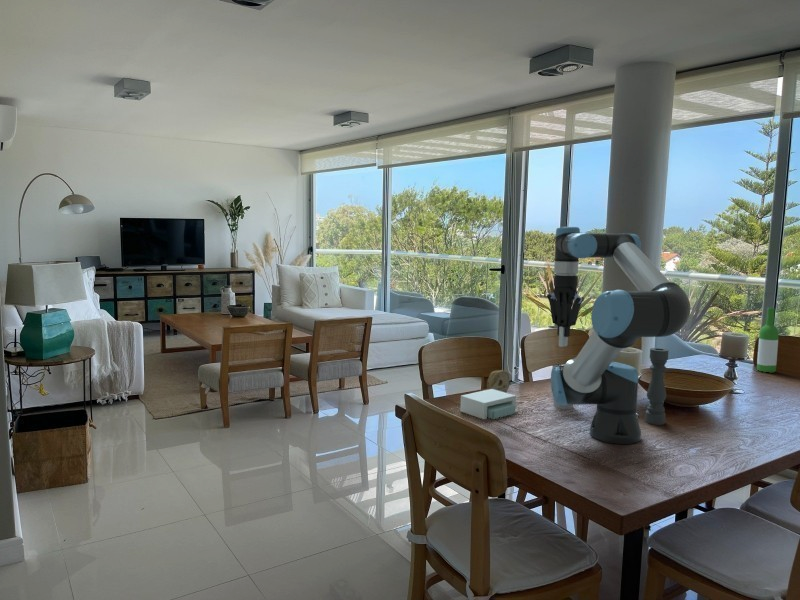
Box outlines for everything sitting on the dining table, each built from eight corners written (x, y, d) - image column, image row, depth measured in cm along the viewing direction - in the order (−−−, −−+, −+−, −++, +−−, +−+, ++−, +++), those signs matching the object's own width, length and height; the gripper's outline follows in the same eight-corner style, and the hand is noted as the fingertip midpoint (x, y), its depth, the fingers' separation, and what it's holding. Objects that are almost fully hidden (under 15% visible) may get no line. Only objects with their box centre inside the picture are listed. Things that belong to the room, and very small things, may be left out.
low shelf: (515, 411, 214) (515, 395, 213) (483, 419, 204) (484, 403, 203) (491, 403, 223) (491, 388, 222) (460, 411, 213) (460, 395, 212)
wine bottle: (778, 373, 277) (784, 309, 274) (760, 372, 278) (765, 308, 275) (771, 369, 284) (776, 307, 281) (753, 369, 286) (758, 306, 282)
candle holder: (642, 422, 203) (646, 349, 200) (649, 418, 207) (653, 347, 205) (660, 426, 199) (665, 352, 196) (667, 422, 203) (672, 349, 200)
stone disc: (503, 392, 239) (504, 367, 238) (510, 394, 236) (511, 369, 235) (484, 395, 233) (485, 370, 232) (491, 398, 230) (492, 372, 229)
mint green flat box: (514, 413, 211) (514, 405, 210) (492, 419, 204) (493, 410, 204) (493, 407, 219) (493, 399, 218) (472, 412, 212) (472, 404, 211)
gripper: (590, 275, 191) (586, 347, 194) (556, 273, 202) (553, 342, 204) (576, 276, 187) (572, 350, 190) (542, 273, 197) (539, 344, 200)
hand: (563, 346), depth 197 cm, fingers closed
